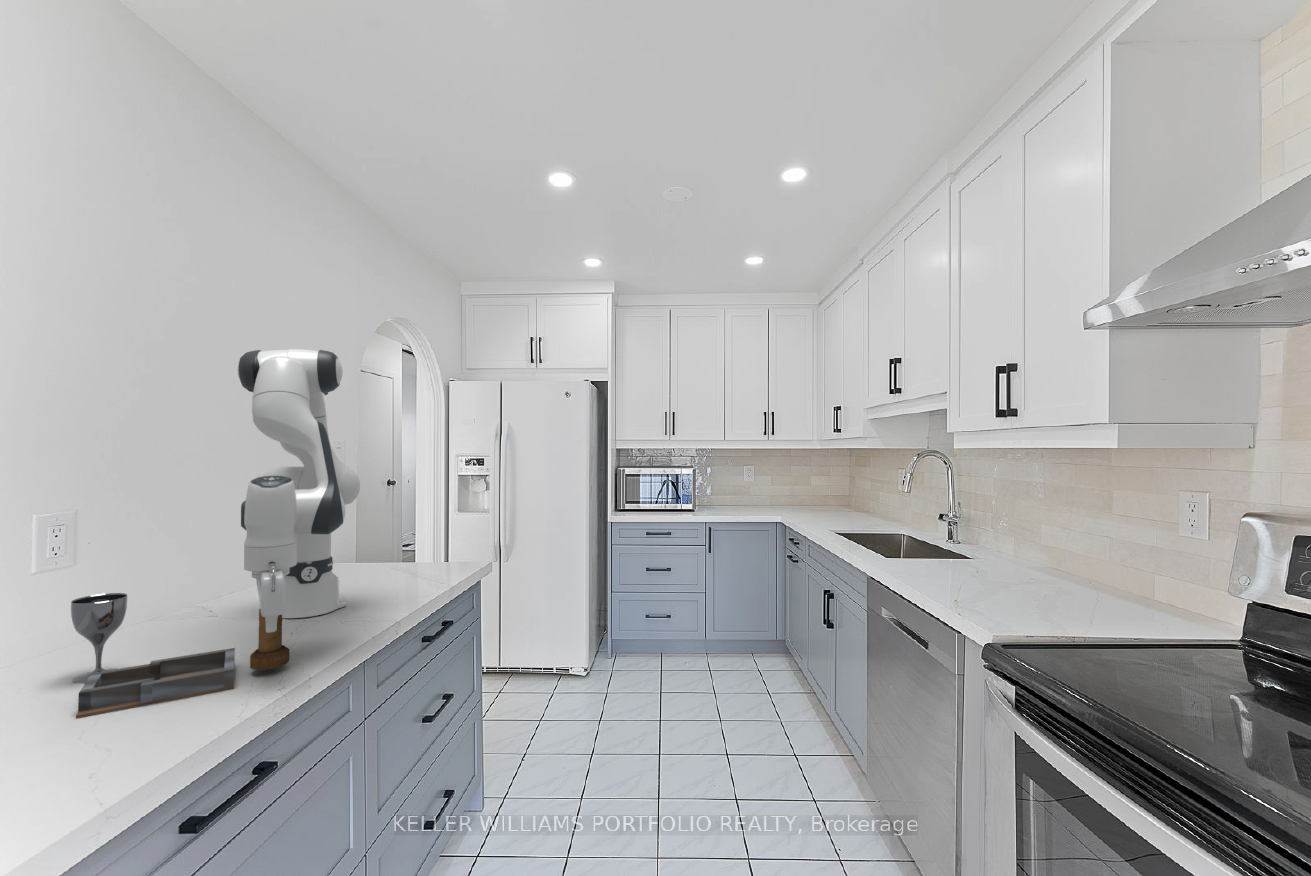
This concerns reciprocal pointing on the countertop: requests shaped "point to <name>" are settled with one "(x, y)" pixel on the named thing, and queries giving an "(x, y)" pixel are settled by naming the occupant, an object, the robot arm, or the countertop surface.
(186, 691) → the tray
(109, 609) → the wine glass
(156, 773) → the countertop surface
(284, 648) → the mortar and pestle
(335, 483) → the robot arm
